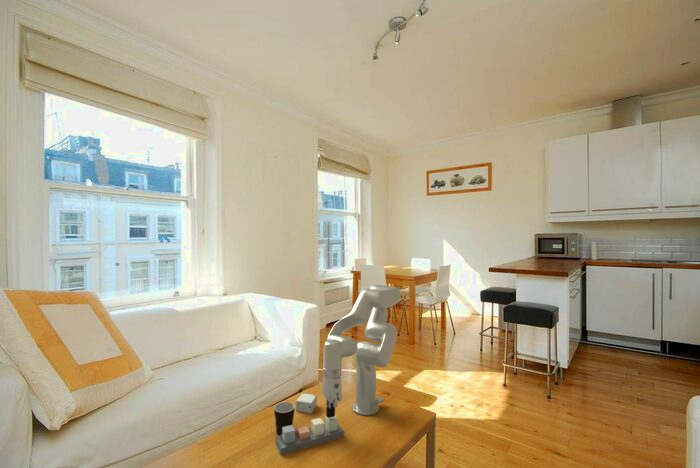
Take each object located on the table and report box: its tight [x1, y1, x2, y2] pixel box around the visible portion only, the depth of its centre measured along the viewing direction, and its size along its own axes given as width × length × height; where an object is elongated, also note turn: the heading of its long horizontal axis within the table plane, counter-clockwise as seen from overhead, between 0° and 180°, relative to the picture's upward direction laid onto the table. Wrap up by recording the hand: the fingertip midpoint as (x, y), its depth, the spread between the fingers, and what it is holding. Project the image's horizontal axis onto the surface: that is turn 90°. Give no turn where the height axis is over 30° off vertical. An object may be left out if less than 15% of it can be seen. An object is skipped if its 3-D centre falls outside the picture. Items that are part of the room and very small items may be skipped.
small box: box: [295, 393, 318, 414], centre depth 153 cm, size 8×8×5 cm
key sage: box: [324, 415, 339, 433], centre depth 133 cm, size 4×4×4 cm
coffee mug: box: [273, 401, 296, 436], centre depth 136 cm, size 12×9×10 cm
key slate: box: [282, 424, 296, 445], centre depth 125 cm, size 4×4×4 cm
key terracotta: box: [296, 425, 310, 440], centre depth 127 cm, size 4×4×4 cm
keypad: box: [275, 423, 345, 456], centre depth 129 cm, size 26×8×2 cm, turn 117°
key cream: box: [310, 417, 325, 436], centre depth 130 cm, size 4×4×4 cm
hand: (330, 416), depth 133 cm, fingers closed
